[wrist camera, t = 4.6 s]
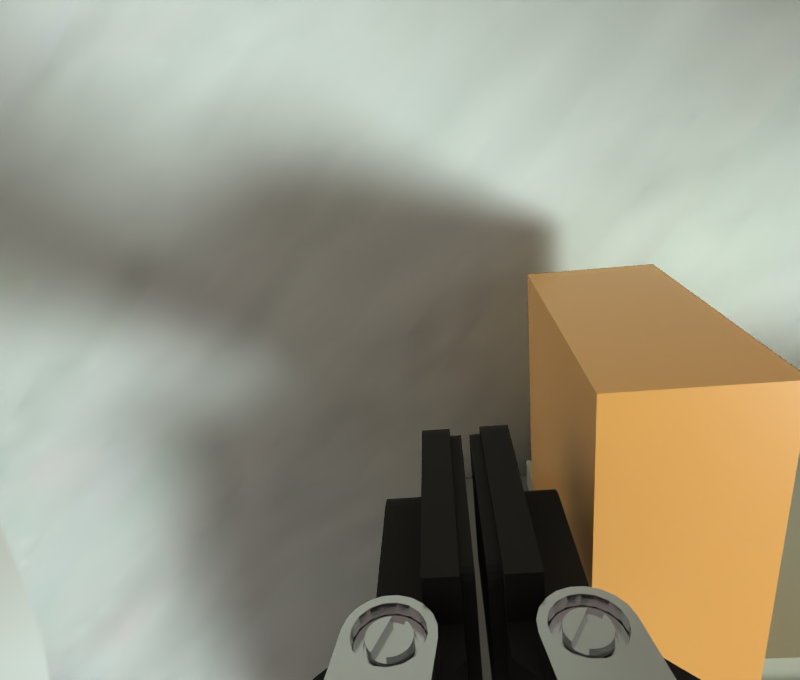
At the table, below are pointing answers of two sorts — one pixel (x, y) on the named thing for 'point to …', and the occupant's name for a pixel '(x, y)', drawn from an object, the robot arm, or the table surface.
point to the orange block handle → (672, 464)
